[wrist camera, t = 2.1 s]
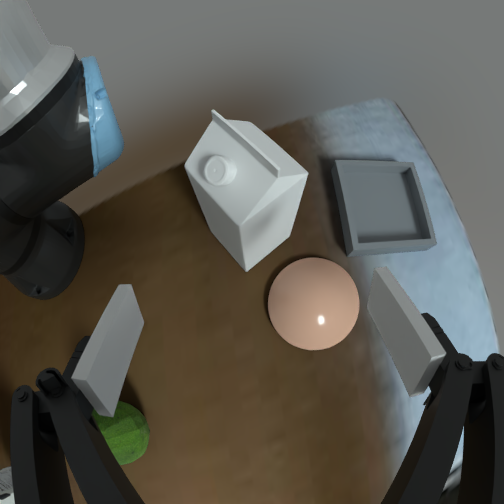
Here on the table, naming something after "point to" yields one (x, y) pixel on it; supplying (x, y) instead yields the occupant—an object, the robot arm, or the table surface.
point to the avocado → (124, 432)
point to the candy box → (6, 486)
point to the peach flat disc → (313, 303)
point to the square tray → (381, 207)
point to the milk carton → (245, 188)
